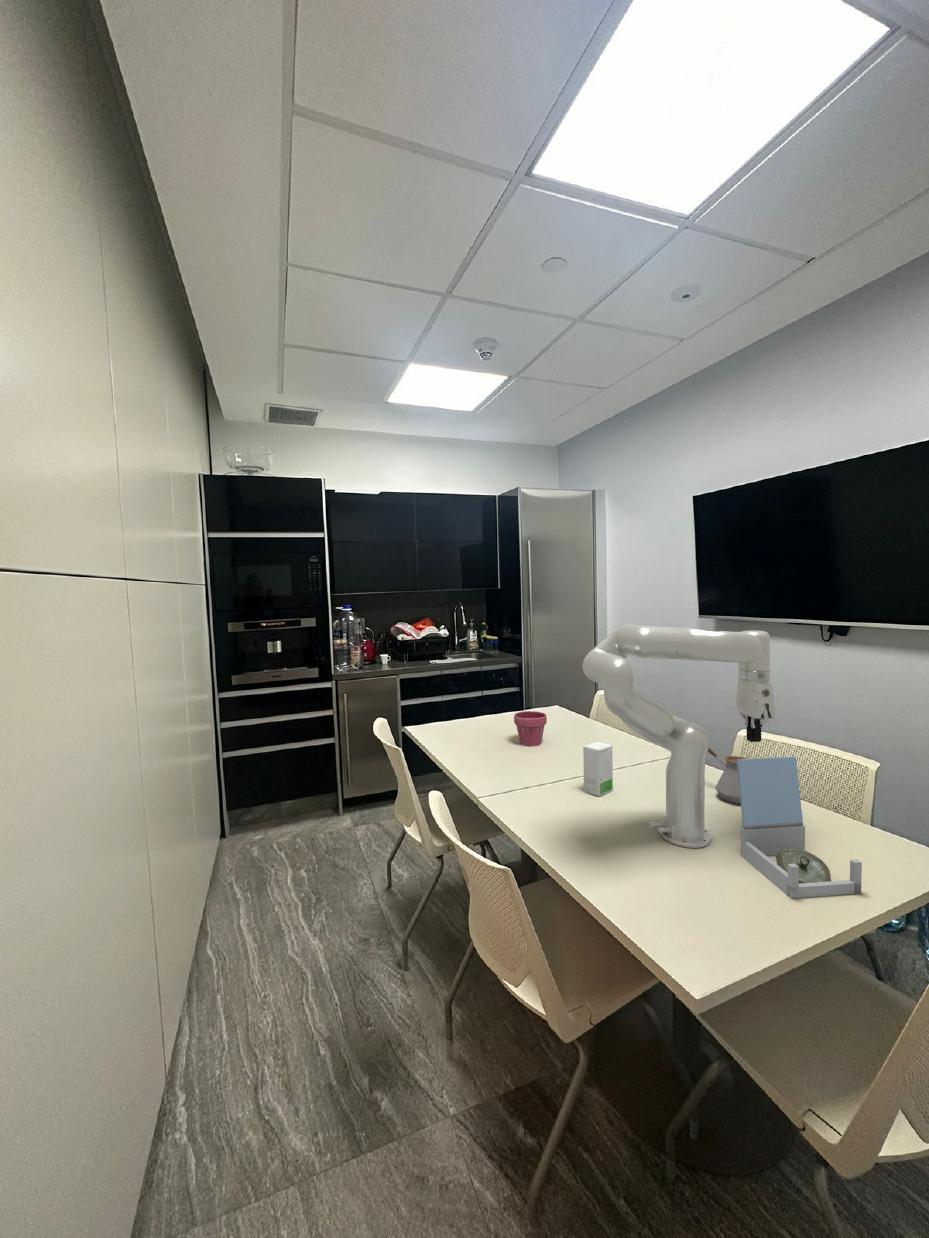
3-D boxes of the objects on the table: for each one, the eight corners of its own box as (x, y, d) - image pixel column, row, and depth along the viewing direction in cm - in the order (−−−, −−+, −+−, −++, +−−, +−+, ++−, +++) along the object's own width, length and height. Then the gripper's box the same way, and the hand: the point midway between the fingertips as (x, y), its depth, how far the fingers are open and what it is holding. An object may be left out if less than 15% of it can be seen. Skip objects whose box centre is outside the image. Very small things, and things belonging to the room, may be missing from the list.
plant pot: (530, 736, 226) (529, 708, 225) (553, 743, 215) (553, 714, 214) (507, 743, 217) (507, 714, 216) (531, 750, 206) (530, 720, 205)
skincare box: (599, 797, 159) (598, 750, 158) (582, 791, 164) (581, 745, 163) (613, 790, 164) (613, 744, 163) (597, 784, 169) (596, 740, 168)
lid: (815, 864, 118) (816, 844, 118) (840, 889, 108) (841, 868, 108) (768, 862, 120) (768, 842, 119) (788, 886, 110) (788, 865, 110)
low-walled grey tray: (791, 898, 106) (791, 867, 105) (740, 854, 123) (740, 827, 123) (861, 893, 107) (861, 862, 106) (801, 850, 124) (801, 824, 124)
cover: (738, 759, 123) (736, 759, 124) (745, 829, 122) (743, 827, 122) (795, 757, 124) (793, 756, 125) (803, 825, 123) (800, 824, 123)
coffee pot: (765, 802, 152) (766, 755, 151) (739, 810, 147) (740, 761, 146) (707, 778, 171) (708, 736, 170) (683, 784, 167) (683, 741, 166)
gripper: (786, 679, 127) (786, 748, 128) (749, 670, 142) (749, 732, 143) (758, 681, 127) (758, 750, 128) (724, 671, 142) (724, 733, 143)
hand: (753, 740), depth 136 cm, fingers closed
